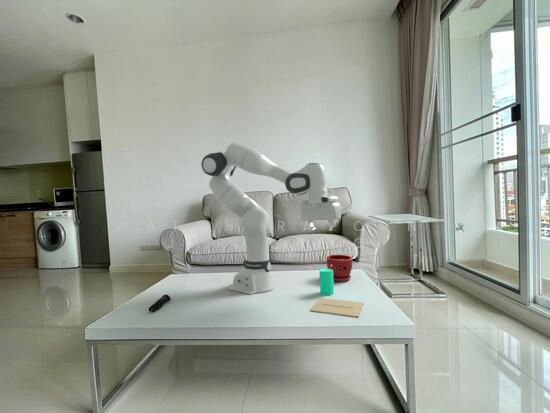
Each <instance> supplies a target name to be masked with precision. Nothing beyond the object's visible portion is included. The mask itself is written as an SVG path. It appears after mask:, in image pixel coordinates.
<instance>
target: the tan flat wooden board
mask: <svg viewBox="0 0 550 413" xmlns="http://www.w3.org/2000/svg"><path fill="white" fill-rule="evenodd" d="M364 304H365V303H364V302H361V301H351V300H344V299H343V300H342V299H336V298H335V299H334V298H333V299H331V298H326V297H325V298H323V297H319V299H318V300H317V301H316V302H314V304H313V305H312V306H311V308H310V309H309V312H315V313H322V314H329V315H330V314H331V315H337V316H345V317H351V318H352V317H354V318H359V316H361V315H360V314H361V312H362V309H363V307H364Z"/></svg>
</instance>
